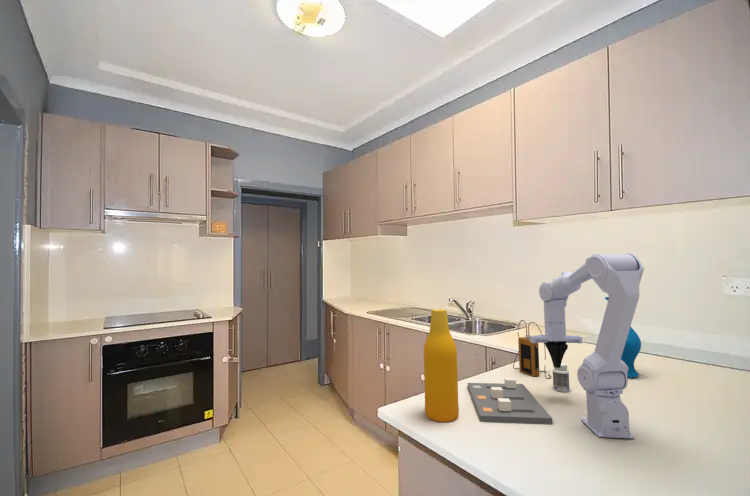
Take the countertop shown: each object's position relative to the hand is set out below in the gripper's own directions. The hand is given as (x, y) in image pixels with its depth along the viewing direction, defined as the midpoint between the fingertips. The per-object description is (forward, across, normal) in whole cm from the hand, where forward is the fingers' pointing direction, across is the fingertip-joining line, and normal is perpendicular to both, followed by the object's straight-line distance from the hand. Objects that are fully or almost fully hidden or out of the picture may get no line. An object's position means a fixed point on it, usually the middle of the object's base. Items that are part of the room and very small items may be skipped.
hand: (556, 366), depth 107 cm
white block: (+8, +19, +13) cm, 24 cm away
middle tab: (+8, +19, +4) cm, 21 cm away
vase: (+10, -33, -27) cm, 43 cm away
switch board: (+10, +17, +4) cm, 20 cm away
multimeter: (+10, -2, -27) cm, 29 cm away
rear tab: (+8, +13, -5) cm, 16 cm away
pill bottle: (+10, -4, -9) cm, 14 cm away
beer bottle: (+10, +36, +14) cm, 40 cm away
